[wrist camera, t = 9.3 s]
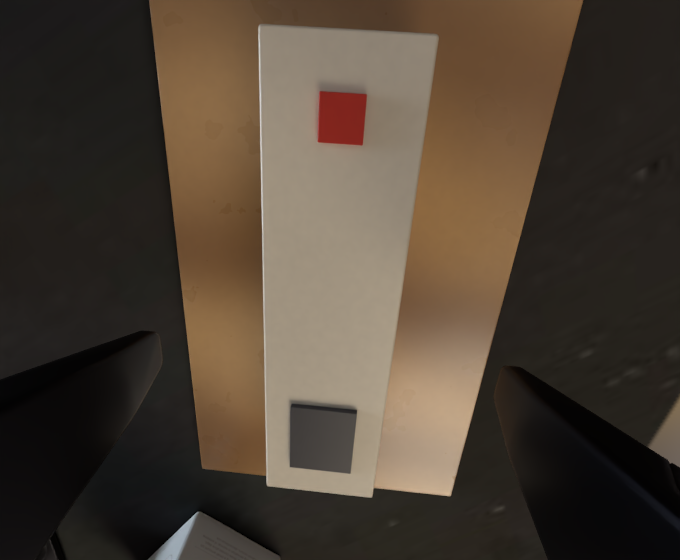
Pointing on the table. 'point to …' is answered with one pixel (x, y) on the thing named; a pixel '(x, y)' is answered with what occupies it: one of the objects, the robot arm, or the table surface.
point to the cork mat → (428, 218)
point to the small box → (210, 543)
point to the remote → (335, 240)
